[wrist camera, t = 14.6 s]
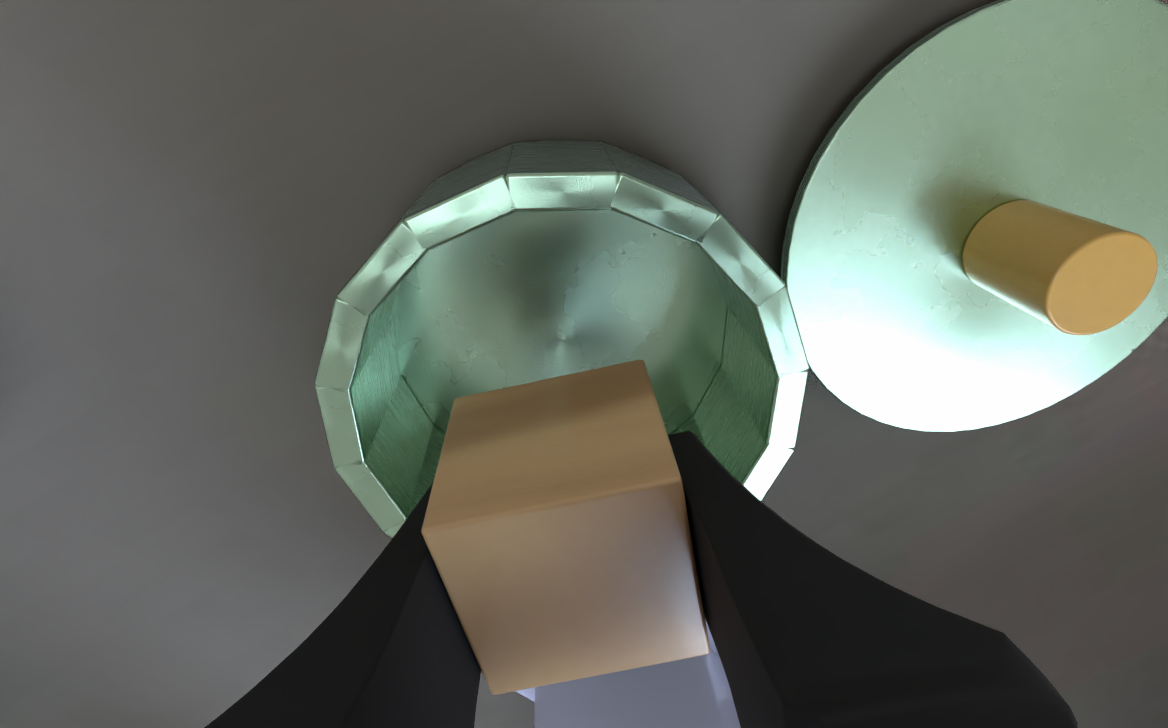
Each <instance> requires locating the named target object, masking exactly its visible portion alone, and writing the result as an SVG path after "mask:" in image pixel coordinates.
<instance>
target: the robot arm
mask: <svg viewBox="0 0 1168 728" xmlns="http://www.w3.org/2000/svg"><path fill="white" fill-rule="evenodd" d="M668 438H669V441H670V444H671V447H672V450H673V453H674V456H675V460H676V463H677V466H678V469H679V472H680V475H681V478H682V483H683V489H684V495H685V501H686V507H687V513H688V519H689V525H690V531H691V537H692V543H693V549H694V555H695V561H696V567H697V573H698V579H699V585H700V591H701V597H702V603H703V609H704V615H705V621H706V627H707V633H708V639H709V645H710V652H709V654H707V655H703V656H697V657H692V658H687V659H682V660H676V661H671V662H666V663H661V664H655V665H650V666H645V667H640V668H634V669H629V670H624V671H618V672H613V673H608V674H603V675H597V676H592V677H587V678H582V679H576V680H571V681H566V682H561V683H555V684H550V685H545V686H540V687H534V688H529V689H524V690H519V691H516V692H518V693H520V694H521V695H523V696H525V697H527V698H529V699H530V700H532V701H534V702H535V716H534V728H1077V721H1076V719H1075V717H1074V715H1073V712H1072V710H1071V708H1070V707H1069V705H1068V704H1067V703H1066V702H1065V700H1064V699H1063V698H1062V697H1061V695H1060V694H1059V693H1058V692H1057V690H1056V689H1055V688H1054V687H1053V685H1052V684H1051V683H1050V682H1049V680H1048V679H1047V678H1046V677H1045V676H1044V675H1043V674H1042V673H1041V671H1040V670H1039V669H1038V668H1037V667H1036V666H1035V665H1034V664H1033V663H1032V662H1031V661H1030V659H1029V658H1028V657H1027V656H1026V655H1025V654H1024V653H1023V652H1022V651H1021V650H1020V649H1019V648H1018V647H1017V646H1016V645H1015V644H1014V643H1013V642H1012V641H1011V640H1010V639H1009V638H1008V637H1007V636H1006V635H1005V634H1004V633H1002V632H1000V631H997V630H995V629H992V628H989V627H987V626H984V625H982V624H979V623H977V622H974V621H972V620H969V619H967V618H964V617H961V616H959V615H956V614H954V613H951V612H949V611H946V610H944V609H941V608H938V607H936V606H934V605H931V604H929V603H927V602H925V601H923V600H920V599H918V598H916V597H914V596H912V595H910V594H908V593H905V592H903V591H901V590H899V589H897V588H895V587H892V586H891V585H889V584H887V583H885V582H883V581H881V580H879V579H877V578H875V577H874V576H872V575H870V574H868V573H866V572H864V571H863V570H861V569H859V568H857V567H855V566H853V565H852V564H850V563H848V562H846V561H844V560H843V559H841V558H839V557H838V556H836V555H835V554H833V553H831V552H830V551H828V550H827V549H825V548H823V547H822V546H820V545H819V544H817V543H816V542H814V541H813V540H812V539H810V538H809V537H807V536H806V535H804V534H803V533H801V532H800V531H798V530H797V529H796V528H794V527H793V526H792V525H790V524H789V523H788V522H786V521H785V520H784V519H782V518H781V517H780V516H779V515H777V514H776V513H775V512H774V511H772V510H771V509H770V508H769V507H767V506H766V505H765V504H764V503H763V502H761V501H760V500H759V499H758V498H757V497H756V496H754V495H753V494H752V493H751V492H750V491H749V490H748V489H747V488H746V487H745V486H743V485H742V484H741V483H740V482H739V481H738V480H737V479H736V478H735V477H734V476H733V475H732V474H731V473H730V472H729V471H728V470H727V469H726V468H725V467H724V466H723V465H722V464H721V463H720V462H719V461H718V460H717V459H716V458H715V457H714V456H713V455H712V454H711V453H710V451H709V450H708V449H707V448H706V447H705V446H704V445H703V443H702V442H701V441H700V440H699V438H698V437H697V436H696V434H694V433H692V432H691V431H685V432H680V433H675V434H670V435H668ZM432 486H433V483H432V485H431V486H430V487H429V489H428V490H427V491H426V493H425V494H424V495H423V497H422V498H421V500H420V501H419V502H418V504H417V505H416V507H415V508H414V509H413V511H412V512H411V514H410V515H409V516H408V518H407V519H406V521H405V522H404V523H403V525H402V526H401V527H400V529H399V530H398V532H397V533H396V534H395V536H394V537H393V538H392V540H391V541H390V542H389V544H388V545H387V546H386V548H385V549H384V550H383V552H382V553H381V554H380V556H379V557H378V558H377V559H376V561H375V562H374V563H373V564H372V566H371V567H370V568H369V569H368V570H367V572H366V573H365V574H364V575H363V577H362V578H361V579H360V580H359V581H358V583H357V584H356V585H355V586H354V587H353V589H352V590H351V591H350V592H349V594H348V595H347V596H346V597H345V598H344V599H343V601H342V602H341V603H340V604H339V605H338V606H337V607H336V608H335V609H334V611H333V612H332V613H331V614H330V615H329V616H328V617H327V618H326V619H325V620H324V621H323V622H322V623H321V624H320V625H319V626H318V627H317V628H316V629H315V630H314V632H313V633H312V634H311V635H310V636H309V637H308V638H307V639H306V640H305V641H304V642H303V643H302V644H301V645H300V646H299V647H298V648H297V649H295V650H294V651H293V652H292V653H291V654H290V655H289V656H288V657H287V658H286V659H285V660H283V661H282V662H281V663H280V664H279V665H278V666H277V667H276V668H275V669H274V670H272V671H271V672H270V673H269V674H268V675H267V676H266V677H265V678H264V679H263V680H262V681H260V682H259V683H258V684H257V685H256V686H255V687H254V688H253V689H251V690H250V691H249V692H248V693H247V694H246V695H244V696H243V697H242V698H241V699H240V700H238V701H237V702H236V703H235V704H234V705H232V706H231V707H230V708H229V709H227V710H226V711H225V712H224V713H223V714H221V715H220V716H219V717H218V718H216V719H215V720H214V721H212V722H211V723H210V724H209V725H207V726H206V727H205V728H474V722H475V711H476V703H477V695H478V688H479V681H480V673H481V668H480V666H479V664H478V661H477V659H476V657H475V655H474V652H473V650H472V648H471V645H470V643H469V641H468V638H467V636H466V634H465V632H464V629H463V627H462V625H461V622H460V620H459V618H458V615H457V613H456V611H455V608H454V606H453V604H452V602H451V599H450V597H449V595H448V592H447V590H446V588H445V585H444V583H443V581H442V579H441V576H440V574H439V572H438V569H437V567H436V565H435V562H434V560H433V558H432V556H431V553H430V551H429V549H428V546H427V544H426V542H425V539H424V537H423V535H422V532H421V531H422V526H423V522H424V518H425V514H426V510H427V506H428V502H429V498H430V494H431V490H432Z"/></svg>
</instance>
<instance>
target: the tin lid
mask: <svg viewBox="0 0 1168 728" xmlns="http://www.w3.org/2000/svg"><path fill="white" fill-rule="evenodd" d="M781 279H782V280H783V281H784V282H785V285H786V286H787V289H788V292H789V296H790V299H791V303H792V306H793V310H794V313H795V317H796V320H797V324H798V327H799V331H800V334H801V338H802V342H803V345H804V349H805V352H806V356H807V359H808V363H809V369H810V370H811V371H812V372H813V374H814V375H815V376H816V377H817V378H818V380H819V381H820V382H821V383H822V385H823V386H824V387H825V388H826V389H827V390H828V391H829V392H831V393H832V394H833V395H834V396H835V397H836V398H837V399H839V400H840V401H841V402H842V403H844V404H845V405H847V406H849V407H850V408H852V409H853V410H855V411H857V412H858V413H860V414H862V415H864V416H867V417H869V418H871V419H874V420H876V421H878V422H881V423H884V424H888V425H892V426H895V427H899V428H903V429H910V430H917V431H924V432H954V431H965V430H974V429H979V428H984V427H989V426H994V425H999V424H1002V423H1006V422H1009V421H1012V420H1015V419H1019V418H1022V417H1025V416H1027V415H1030V414H1032V413H1035V412H1037V411H1040V410H1042V409H1044V408H1047V407H1049V406H1051V405H1053V404H1055V403H1057V402H1059V401H1061V400H1063V399H1065V398H1067V397H1069V396H1071V395H1073V394H1075V393H1076V392H1078V391H1079V390H1081V389H1083V388H1084V387H1086V386H1087V385H1089V384H1090V383H1092V382H1094V381H1095V380H1097V379H1098V378H1100V377H1101V376H1103V375H1104V374H1105V373H1107V372H1108V371H1109V370H1111V369H1112V368H1113V367H1114V366H1116V365H1117V364H1118V363H1120V362H1121V361H1122V360H1124V359H1125V358H1126V357H1127V356H1128V355H1129V354H1130V353H1131V352H1133V351H1134V350H1135V349H1136V348H1137V347H1138V346H1139V345H1140V344H1142V343H1143V342H1144V341H1145V340H1146V339H1147V338H1148V337H1149V336H1150V335H1151V334H1152V333H1153V332H1154V330H1155V329H1156V328H1157V327H1158V326H1159V325H1160V324H1161V323H1162V322H1163V321H1164V320H1165V319H1166V318H1167V317H1168V5H1167V4H1165V3H1162V2H1160V1H1158V0H997V1H994V2H992V3H989V4H986V5H984V6H981V7H978V8H976V9H973V10H971V11H969V12H967V13H965V14H963V15H961V16H959V17H957V18H955V19H953V20H951V21H949V22H948V23H946V24H944V25H942V26H940V27H938V28H937V29H935V30H934V31H932V32H931V33H929V34H928V35H926V36H925V37H923V38H922V39H920V40H919V41H917V42H916V43H914V44H913V45H911V46H910V47H908V48H907V49H906V50H905V51H903V52H902V53H901V54H900V55H899V56H898V57H896V58H895V59H894V60H893V61H892V62H890V63H889V64H888V65H887V66H886V67H885V68H883V69H882V70H881V71H880V72H879V73H878V74H877V75H876V76H875V77H874V78H873V79H872V80H871V81H870V82H869V83H868V84H867V85H866V86H865V87H864V88H863V89H862V90H861V91H860V93H859V94H858V95H857V96H856V97H855V98H854V99H853V100H852V101H851V103H850V104H849V105H848V106H847V108H846V109H845V110H844V112H843V113H842V114H841V115H840V117H839V118H838V119H837V121H836V122H835V123H834V125H833V126H832V127H831V129H830V130H829V132H828V133H827V135H826V137H825V138H824V140H823V142H822V143H821V145H820V147H819V148H818V150H817V151H816V153H815V155H814V156H813V158H812V160H811V162H810V164H809V167H808V169H807V171H806V173H805V175H804V177H803V179H802V181H801V184H800V186H799V188H798V191H797V194H796V197H795V200H794V203H793V206H792V209H791V212H790V215H789V218H788V223H787V227H786V232H785V237H784V242H783V247H782V261H781Z"/></svg>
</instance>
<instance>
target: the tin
mask: <svg viewBox="0 0 1168 728" xmlns="http://www.w3.org/2000/svg"><path fill="white" fill-rule="evenodd" d="M639 359H641V360H643V361H644V363H645V366H646V369H647V372H648V375H649V378H650V381H651V384H652V388H653V391H654V394H655V397H656V400H657V403H658V406H659V410H660V413H661V416H662V419H663V422H664V425H665V428H666V431H667V435H670V434H675V433H680V432H685V431H691V432H692V433H694V434H696V436H697V437H698V438H699V440H700V441H701V442H702V443H703V445H704V446H705V447H706V448H707V449H708V450H709V451H710V453H711V454H712V455H713V456H714V457H715V458H716V459H717V460H718V461H719V462H720V463H721V464H722V465H723V466H724V467H725V468H726V469H727V470H728V471H729V472H730V473H731V474H732V475H733V476H734V477H735V478H736V479H737V480H738V481H739V482H740V483H741V484H742V485H743V486H745V487H746V488H747V489H748V490H749V491H750V492H751V493H752V494H753V495H754V496H756V497H757V498H758V499H759V500H760V501H762V499H763V498H764V496H765V495H766V493H767V492H768V490H769V489H770V487H771V486H772V484H773V483H774V481H775V479H776V478H777V476H778V475H779V473H780V472H781V470H782V469H783V467H784V466H785V464H786V463H787V461H788V460H789V458H790V457H791V455H792V454H793V452H794V450H795V446H796V442H797V436H798V430H799V425H800V419H801V414H802V408H803V402H804V397H805V391H806V385H807V380H808V374H809V363H808V359H807V356H806V352H805V349H804V345H803V342H802V338H801V334H800V331H799V327H798V324H797V320H796V317H795V313H794V310H793V306H792V303H791V299H790V296H789V292H788V289H787V286H786V285H785V282H784V281H783V280H782V279H781V278H780V277H779V276H778V275H777V273H776V272H775V271H774V270H773V269H772V268H771V267H770V266H769V265H768V264H767V263H766V261H765V260H764V259H763V258H762V257H761V256H760V255H759V254H758V253H757V252H756V250H755V249H754V248H753V247H752V246H751V245H750V244H749V243H748V242H747V241H746V240H745V238H744V237H743V236H742V235H741V234H740V233H739V232H738V231H737V230H736V229H735V227H734V226H733V225H732V224H731V223H730V222H729V221H728V220H727V219H726V218H725V217H724V215H723V214H722V213H721V212H720V211H718V210H717V209H716V208H715V207H714V206H713V205H712V204H711V203H710V202H709V201H708V200H707V199H706V198H705V197H704V196H702V195H701V194H700V193H699V192H698V191H697V190H696V189H695V188H694V187H693V186H692V185H691V184H690V183H689V182H687V181H686V180H685V179H684V178H683V177H682V176H681V175H679V174H678V173H676V172H674V171H671V170H669V169H667V168H664V167H662V166H660V165H657V164H655V163H653V162H651V161H649V160H647V159H645V158H643V157H642V156H640V155H637V154H634V153H631V152H628V151H625V150H622V149H619V148H617V147H615V146H612V145H610V144H608V143H605V142H602V143H601V142H599V141H577V140H558V139H557V140H545V141H533V142H517V143H515V144H509V145H507V146H505V147H502V148H500V149H498V150H495V151H493V152H490V153H487V154H485V155H482V156H479V157H477V158H475V159H473V160H471V161H469V162H467V163H466V164H464V165H462V166H460V167H458V168H456V169H455V170H453V171H450V172H448V173H446V174H444V175H442V176H439V177H438V178H437V179H436V180H434V181H433V182H432V183H431V184H430V185H429V186H428V187H427V189H426V190H425V191H424V192H423V193H422V194H421V196H420V197H419V198H418V199H417V200H416V201H415V203H414V204H413V205H412V206H411V207H410V208H409V210H408V211H407V212H406V213H405V214H404V215H403V217H402V218H401V219H400V220H399V221H398V222H397V224H396V225H395V226H394V227H393V228H392V229H391V231H390V232H389V233H388V234H387V235H386V237H385V238H384V239H383V240H382V241H381V242H380V244H379V245H378V246H377V247H376V249H375V250H374V251H373V252H372V253H371V255H370V256H369V257H368V258H367V259H366V261H365V262H364V263H363V264H362V265H361V267H360V268H359V269H358V270H357V271H356V273H355V274H354V275H353V276H352V277H351V279H350V280H349V281H348V282H347V283H346V285H345V286H344V287H343V288H342V289H341V291H340V292H339V293H338V296H337V297H336V299H335V302H334V306H333V310H332V314H331V318H330V322H329V326H328V330H327V334H326V338H325V343H324V347H323V351H322V355H321V359H320V363H319V367H318V371H317V375H316V379H315V390H316V394H317V398H318V403H319V407H320V411H321V415H322V420H323V424H324V428H325V433H326V437H327V441H328V445H329V450H330V454H331V458H332V462H333V466H334V467H335V470H336V471H337V473H338V474H339V475H340V477H341V478H342V479H343V481H344V482H345V483H346V484H347V486H348V487H349V488H350V490H351V491H352V492H353V494H354V495H355V496H356V497H357V499H358V500H359V501H360V503H361V504H362V505H363V507H364V508H365V509H366V510H367V512H368V513H369V514H370V516H371V517H372V518H373V520H374V521H375V522H376V523H377V525H378V526H379V527H380V529H381V530H382V531H384V533H385V534H387V535H388V536H390V537H392V538H393V537H394V536H395V534H396V533H397V532H398V530H399V529H400V527H401V526H402V525H403V523H404V522H405V521H406V519H407V518H408V516H409V515H410V514H411V512H412V511H413V509H414V508H415V507H416V505H417V504H418V502H419V501H420V500H421V498H422V497H423V495H424V494H425V493H426V491H427V490H428V489H429V487H430V486H431V485H432V483H433V482H434V478H435V474H436V470H437V466H438V462H439V458H440V454H441V450H442V446H443V442H444V438H445V434H446V430H447V426H448V422H449V418H450V414H451V410H452V406H453V402H454V400H455V399H456V398H459V397H464V396H468V395H473V394H478V393H483V392H487V391H492V390H497V389H502V388H506V387H511V386H516V385H521V384H525V383H530V382H535V381H539V380H544V379H549V378H554V377H558V376H563V375H568V374H573V373H577V372H582V371H587V370H592V369H596V368H601V367H606V366H611V365H615V364H620V363H625V362H629V361H634V360H639Z"/></svg>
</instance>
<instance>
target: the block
mask: <svg viewBox="0 0 1168 728" xmlns="http://www.w3.org/2000/svg"><path fill="white" fill-rule="evenodd" d="M421 532H422V535H423V537H424V539H425V542H426V544H427V546H428V549H429V551H430V553H431V556H432V558H433V560H434V562H435V565H436V567H437V569H438V572H439V574H440V576H441V579H442V581H443V583H444V585H445V588H446V590H447V592H448V595H449V597H450V599H451V602H452V604H453V606H454V608H455V611H456V613H457V615H458V618H459V620H460V622H461V625H462V627H463V629H464V632H465V634H466V636H467V638H468V641H469V643H470V645H471V648H472V650H473V652H474V655H475V657H476V659H477V661H478V664H479V666H480V668H481V671H482V673H483V675H484V678H485V680H486V682H487V684H488V687H489V689H490V691H491V694H493V695H498V694H503V693H508V692H513V691H519V690H524V689H529V688H534V687H540V686H545V685H550V684H555V683H561V682H566V681H571V680H576V679H582V678H587V677H592V676H597V675H603V674H608V673H613V672H618V671H624V670H629V669H634V668H640V667H645V666H650V665H655V664H661V663H666V662H671V661H676V660H682V659H687V658H692V657H697V656H703V655H707V654H709V652H710V645H709V639H708V633H707V627H706V621H705V615H704V609H703V603H702V597H701V591H700V585H699V579H698V573H697V567H696V561H695V555H694V549H693V543H692V537H691V531H690V525H689V519H688V513H687V507H686V501H685V495H684V489H683V483H682V478H681V475H680V472H679V469H678V466H677V463H676V460H675V456H674V453H673V450H672V447H671V444H670V441H669V438H668V435H667V431H666V428H665V425H664V422H663V419H662V416H661V413H660V410H659V406H658V403H657V400H656V397H655V394H654V391H653V388H652V384H651V381H650V378H649V375H648V372H647V369H646V366H645V363H644V361H643V360H641V359H639V360H634V361H629V362H625V363H620V364H615V365H611V366H606V367H601V368H596V369H592V370H587V371H582V372H577V373H573V374H568V375H563V376H558V377H554V378H549V379H544V380H539V381H535V382H530V383H525V384H521V385H516V386H511V387H506V388H502V389H497V390H492V391H487V392H483V393H478V394H473V395H468V396H464V397H459V398H456V399H455V400H454V402H453V406H452V410H451V414H450V418H449V422H448V426H447V430H446V434H445V438H444V442H443V446H442V450H441V454H440V458H439V462H438V466H437V470H436V474H435V478H434V482H433V486H432V490H431V494H430V498H429V502H428V506H427V510H426V514H425V518H424V522H423V526H422V531H421Z"/></svg>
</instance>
